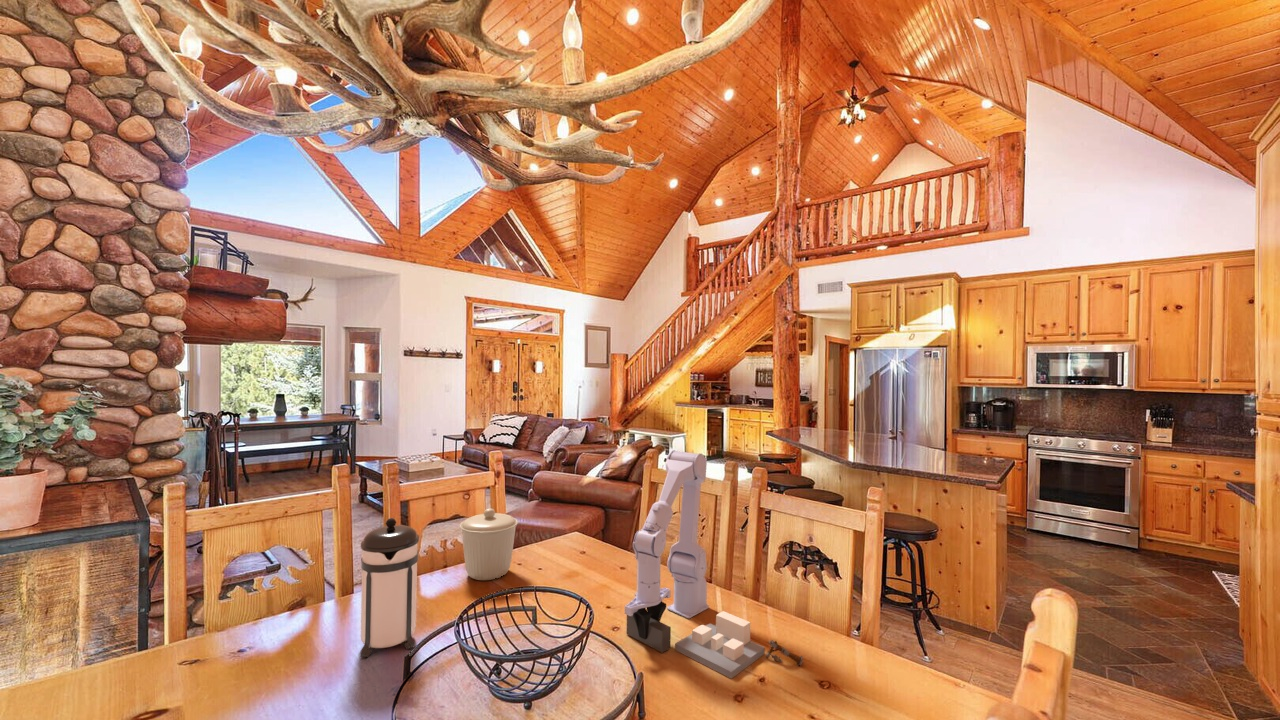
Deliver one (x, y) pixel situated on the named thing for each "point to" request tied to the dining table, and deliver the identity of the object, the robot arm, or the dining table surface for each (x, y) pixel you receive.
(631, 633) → the charcoal rectangular block
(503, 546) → the canister
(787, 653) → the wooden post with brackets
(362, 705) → the dining table surface
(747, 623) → the stand
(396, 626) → the coffee press
